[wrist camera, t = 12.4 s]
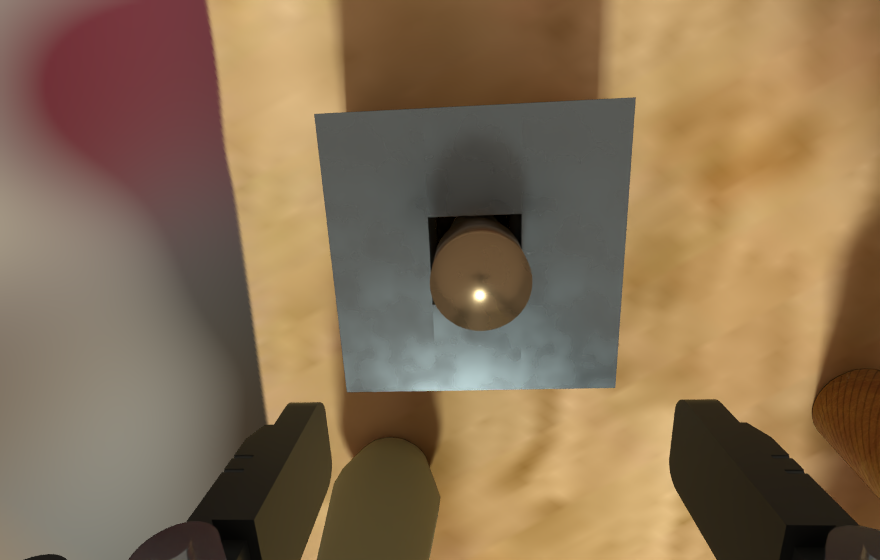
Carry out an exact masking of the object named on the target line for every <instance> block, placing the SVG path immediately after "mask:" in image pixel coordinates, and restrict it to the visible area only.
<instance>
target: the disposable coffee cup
mask: <svg viewBox="0 0 880 560" xmlns="http://www.w3.org/2000/svg"><path fill="white" fill-rule="evenodd" d="M812 418H813V423H814V425H815V427H816V429H817V430H818V431H819V432H820V434H821V435H822V436H823V437H824V438H825V439H826V440H827V441H828V442H829V443H830V444H831V446H832V447H833V448H834V449H835V450H836V451H837V452H838V453H839V454H840V455H841V457H842V458H843V459H844V460H845V461H846V462H847V463H848V464H849V466H850V467H851V468H852V469H853V470H854V471H855V472H856V473H857V474H858V476H859V477H860V478H861V479H862V480H863V481H864V482H865V483H866V485H867V486H868V487H869V488H870V489H871V490H872V491H873V492H874V493H875V495H876V496H877V497H878V498H879V499H880V370H876V369H860V370H855V371H851V372H847V373H845V374H843V375H841V376H839V377H837V378H835V379H834V380H832V381H831V382H830V383H829V384H827V385H826V386H825V387H824V388H823V389H822V391H821V392H820V393H819V395H818V396H817V398H816V400H815V403H814V406H813V413H812Z"/></svg>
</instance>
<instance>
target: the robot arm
mask: <svg viewBox="0 0 880 560" xmlns="http://www.w3.org/2000/svg"><path fill="white" fill-rule="evenodd" d="M669 466H670V474H671V478H672V481H673V484H674V487H675V489H676V491H677V493H678V494H679V496H680V498H681V499H682V501H683V503H684V504H685V506H686V508H687V510H688V511H689V513H690V515H691V516H692V518H693V520H694V522H695V523H696V525H697V527H698V528H699V530H700V532H701V534H702V535H703V537H704V539H705V540H706V542H707V544H708V545H709V547H710V549H711V551H712V552H713V554H714V556H715V557H716V559H717V560H880V531H879V530H876V529H872V528H868V527H863V526H859V525H858V524H857V523H856V522H855V521H854V520H853V519H852V518H851V517H850V516H849V515H848V514H847V513H846V512H845V511H844V510H843V509H842V508H841V507H840V506H839V505H838V504H837V503H836V502H835V501H834V500H833V499H832V498H831V497H830V496H829V495H828V494H827V493H826V492H825V491H824V490H823V489H822V488H821V487H820V486H819V485H818V484H817V483H816V482H815V481H814V479H813V478H812V477H811V476H810V475H809V474H805V473H804V469H803V468H802V467H801V466H800V465H799V464H798V463H797V462H796V461H795V460H794V459H793V458H789V454H788V453H787V452H786V451H785V450H784V449H783V448H782V447H781V446H780V445H779V444H778V443H777V442H776V441H775V440H774V439H773V438H772V437H770V436H768V435H767V434H765V433H763V432H762V431H760V430H758V429H757V428H755V427H753V426H751V425H750V424H748V423H740V422H739V421H738V420H737V419H736V418H735V417H734V416H733V415H732V414H731V413H730V412H729V411H728V410H727V409H726V407H725V406H724V405H723V404H722V403H721V402H720V401H718V400H715V399H707V400H679V401H678V402H677V404H676V407H675V414H674V423H673V431H672V440H671V449H670V457H669ZM331 472H332V458H331V450H330V442H329V435H328V427H327V420H326V412H325V408H324V405H323V404H322V403H321V402H313V403H289V404H287V406H286V407H285V409H284V410H283V412H282V413H281V415H280V416H279V418H278V419H277V421H276V422H275V424H274V425H264V426H263V427H261V428H260V429H259V430H257V431H256V432H255V433H253V434H252V435H250V436H249V437H248V438H246V440H245V441H244V442H243V444H242V445H241V447H240V448H239V449H238V451H237V452H236V454H235V455H234V458H233V459H231V460H230V462H229V463H228V465H227V466H226V467H225V470H224V472H222V473H221V474H220V476H219V477H218V479H217V480H216V481H215V483H214V484H213V485H212V487H211V488H210V490H209V491H208V492H207V494H206V495H205V497H204V498H203V500H202V501H201V502H200V504H199V505H198V506H197V508H196V509H195V510H194V512H193V513H192V515H191V516H190V517H189V519H188V520H187V522H184V523H180V524H176V525H174V526H171V527H168V528H166V529H164V530H162V531H160V532H158V533H157V534H155V535H153V536H152V537H150V538H149V539H148V540H146V541H145V542H144V543H143V544H141V545H140V546H139V547H138V549H136V550H135V552H134V553H133V554H132V555H131V557H130V558H129V560H301V557H302V554H303V552H304V549H305V547H306V544H307V542H308V539H309V536H310V534H311V531H312V529H313V526H314V524H315V521H316V518H317V516H318V513H319V511H320V508H321V506H322V503H323V500H324V498H325V495H326V493H327V490H328V487H329V484H330V479H331ZM25 560H67V559H66V558H64V557H62V556H59V555H54V554H47V555H39V556H35V557H31V558H28V559H25Z"/></svg>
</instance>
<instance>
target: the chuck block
mask: <svg viewBox="0 0 880 560" xmlns="http://www.w3.org/2000/svg"><path fill="white" fill-rule="evenodd" d="M635 99H636V97H635V98H616V99H597V100H577V101H558V102H538V103H519V104H500V105H480V106H461V107H441V108H422V109H403V110H383V111H364V112H344V113H325V114H314V116H315V124H316V133H317V142H318V150H319V159H320V167H321V176H322V184H323V193H324V201H325V210H326V218H327V227H328V235H329V244H330V252H331V261H332V269H333V278H334V286H335V295H336V303H337V312H338V320H339V329H340V337H341V346H342V354H343V363H344V371H345V380H346V388H347V392H390V391H451V390H512V389H574V388H615V383H616V369H617V354H618V340H619V326H620V312H621V298H622V284H623V269H624V255H625V241H626V227H627V213H628V199H629V184H630V170H631V156H632V142H633V128H634V113H635ZM502 214H510V231H511V232H512V233H513V234H514V236H515V237H516V239H517V240H518V242H519V244H520V246H521V249H522V251H523V253H524V255H525V257H526V259H527V261H528V263H529V266H530V268H531V273H532V291H531V295H530V298H529V300H528V302H527V304H526V306H525V308H524V309H523V311H522V312H521V313H520V314H519V315H518V316H517V317H516V318H515V319H514V320H512V321H511V322H509V323H508V324H506V325H504V326H502V327H499V328H496V329H493V330H487V331H474V330H468V329H465V328H462V327H459V326H457V325H455V324H454V323H452V322H450V321H449V320H448V319H446V318H445V317H444V316H443V315H442V314H441V312H440V311H439V310H438V308H437V307H436V305H435V303H434V301H433V298H432V295H431V291H430V274H431V270H432V265H433V261H434V257H435V253H436V249H437V226H436V217H449V216H476V215H502Z"/></svg>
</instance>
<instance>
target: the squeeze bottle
mask: <svg viewBox="0 0 880 560" xmlns="http://www.w3.org/2000/svg"><path fill="white" fill-rule="evenodd" d="M439 504H440V495H439V492H438V489H437V486H436V483H435V480H434V478H433V475H432V473H431V470H430V467H429V465H428V462H427V460H426V457H425V455H424V454H423V453H422V452H421V450H420V449H419V448H418V447H417V446H416V445H414V444H412V443H410V442H408V441H406V440H404V439H399V438H391V437H387V438H382V439H378V440H374V441H373V442H371V443H370V444H369V445H367V446H366V447H364V448H363V449H362V450H361V451H360V452H359V453H358V454H357V455H356V456H355V457H354V458H353V459H352V460H351V461H350V462H349V463H348V464H347V465H346V466H345V467H344V468H343V469H342V471H341V473H340V474H339V476H338V478H337V479H336V481H335V483H334V486H333V490H332V495H331V499H330V503H329V508H328V512H327V517H326V521H325V526H324V530H323V535H322V539H321V543H320V548H319V552H318V557H317V560H429V558H430V553H431V548H432V543H433V537H434V532H435V527H436V522H437V517H438V511H439Z"/></svg>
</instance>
